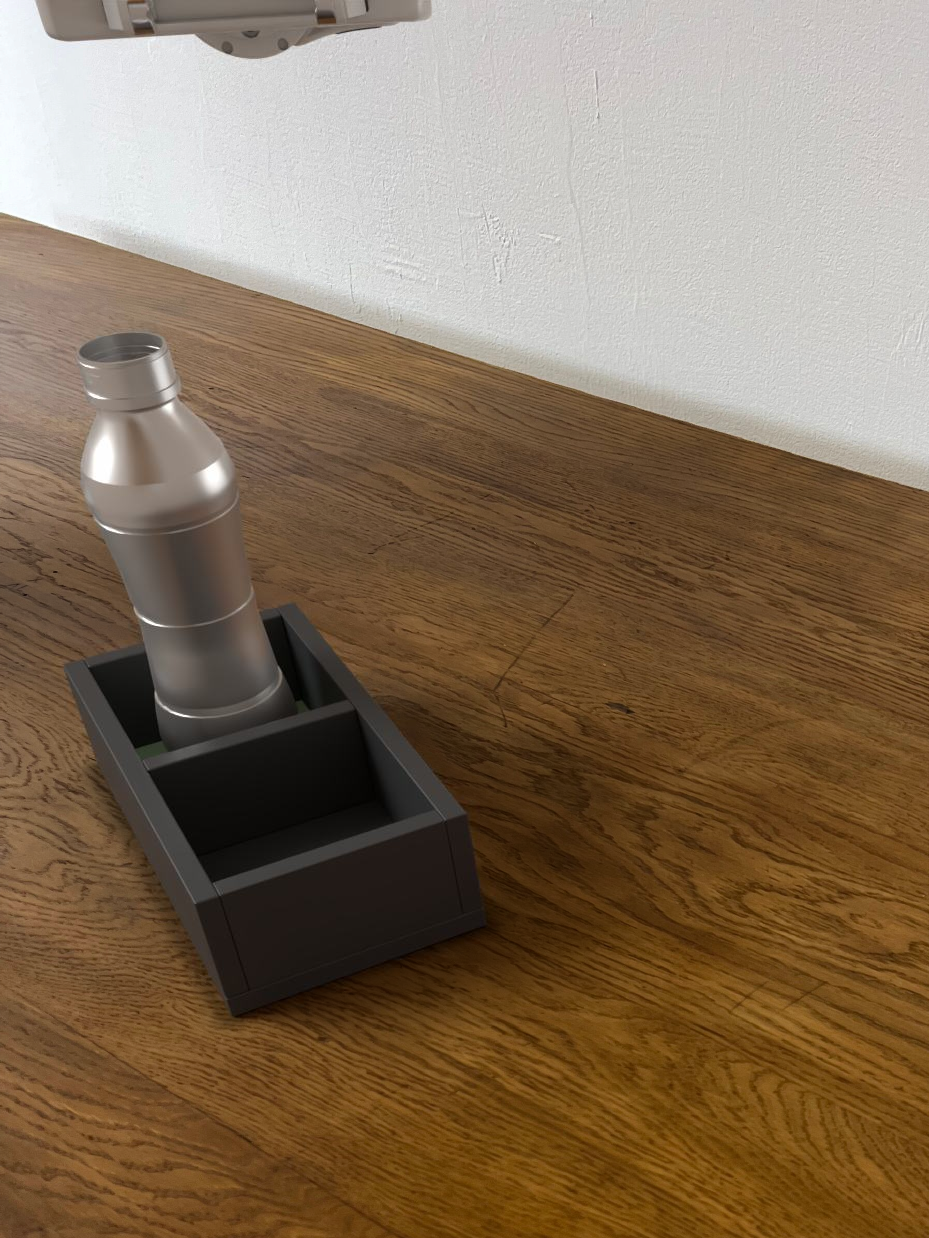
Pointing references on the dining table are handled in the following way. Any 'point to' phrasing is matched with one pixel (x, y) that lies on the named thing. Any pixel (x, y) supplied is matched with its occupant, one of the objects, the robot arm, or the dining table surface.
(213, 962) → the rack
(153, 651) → the silver metal bottle
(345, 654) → the dining table surface
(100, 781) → the dining table surface
